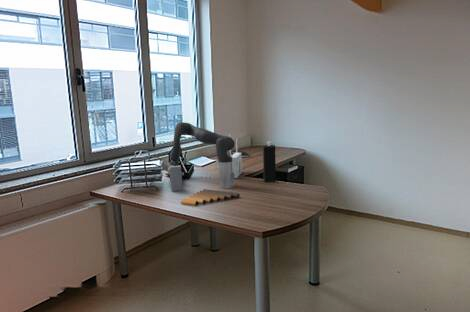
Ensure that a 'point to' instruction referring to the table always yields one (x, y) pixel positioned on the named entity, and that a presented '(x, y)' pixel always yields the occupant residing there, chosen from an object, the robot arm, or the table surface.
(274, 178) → the black bottle
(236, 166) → the skincare box
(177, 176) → the slate block
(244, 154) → the wireless router
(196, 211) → the table surface
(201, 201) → the pan flute
